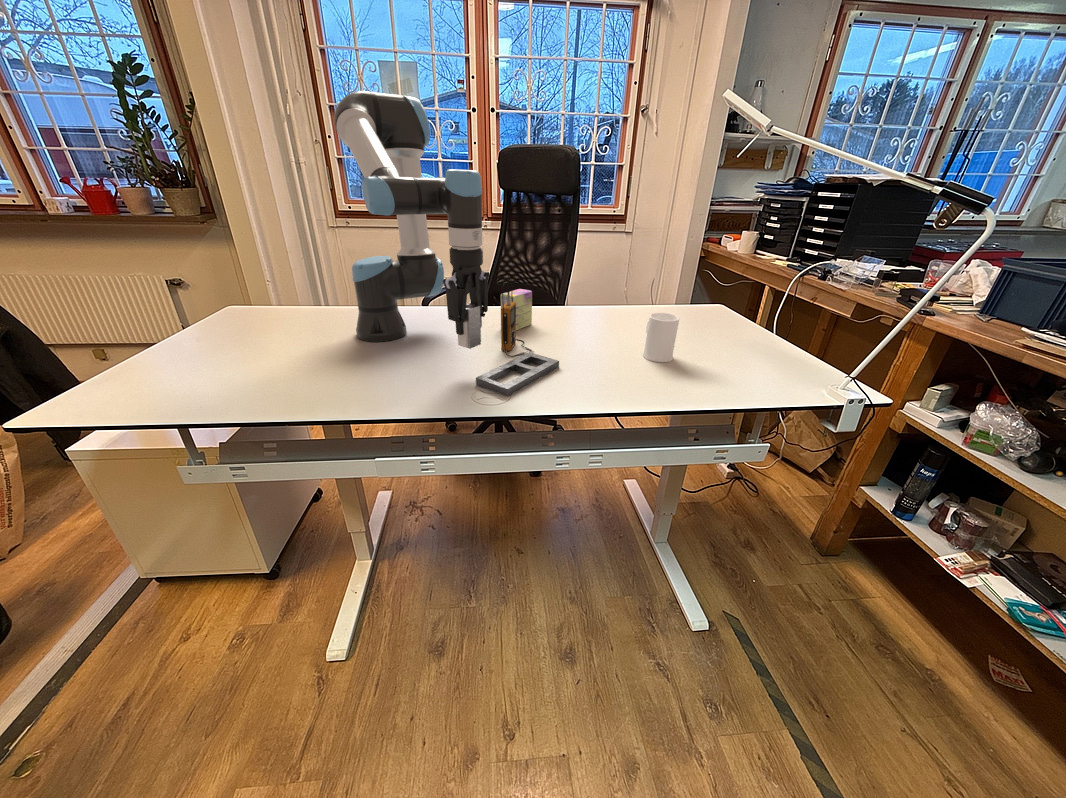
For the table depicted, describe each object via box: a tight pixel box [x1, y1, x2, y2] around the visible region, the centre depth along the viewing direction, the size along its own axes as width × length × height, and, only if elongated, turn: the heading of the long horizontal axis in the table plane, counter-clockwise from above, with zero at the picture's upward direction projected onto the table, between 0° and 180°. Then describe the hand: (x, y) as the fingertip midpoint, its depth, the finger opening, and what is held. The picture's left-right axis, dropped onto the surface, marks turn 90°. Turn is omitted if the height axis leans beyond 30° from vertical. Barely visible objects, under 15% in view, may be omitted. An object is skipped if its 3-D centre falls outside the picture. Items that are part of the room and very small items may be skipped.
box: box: [500, 288, 533, 331], centre depth 142 cm, size 10×6×12 cm, turn 144°
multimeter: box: [500, 278, 535, 357], centre depth 122 cm, size 15×10×20 cm
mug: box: [642, 312, 680, 363], centre depth 121 cm, size 12×8×12 cm
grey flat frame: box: [475, 351, 560, 397], centre depth 108 cm, size 10×22×2 cm, turn 144°
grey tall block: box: [459, 302, 482, 349], centre depth 105 cm, size 4×4×10 cm
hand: (469, 343), depth 107 cm, fingers closed on grey tall block, 4 cm apart
